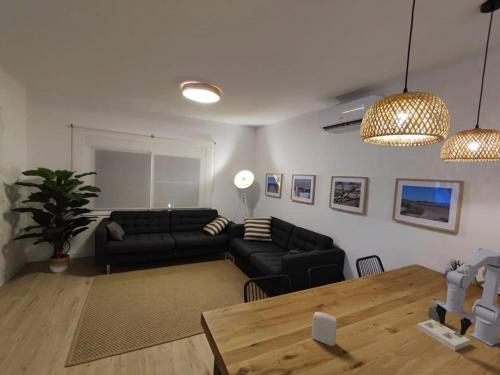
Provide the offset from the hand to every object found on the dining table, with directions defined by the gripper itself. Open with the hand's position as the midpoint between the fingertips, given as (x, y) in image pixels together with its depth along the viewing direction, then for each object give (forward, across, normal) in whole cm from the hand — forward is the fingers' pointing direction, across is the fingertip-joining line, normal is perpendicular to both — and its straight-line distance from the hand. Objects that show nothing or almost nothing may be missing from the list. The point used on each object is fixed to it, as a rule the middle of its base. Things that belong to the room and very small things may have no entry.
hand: (452, 329), depth 104 cm
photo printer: (+10, -23, -51) cm, 57 cm away
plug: (+10, -16, +18) cm, 26 cm away
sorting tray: (+10, -7, +8) cm, 15 cm away
